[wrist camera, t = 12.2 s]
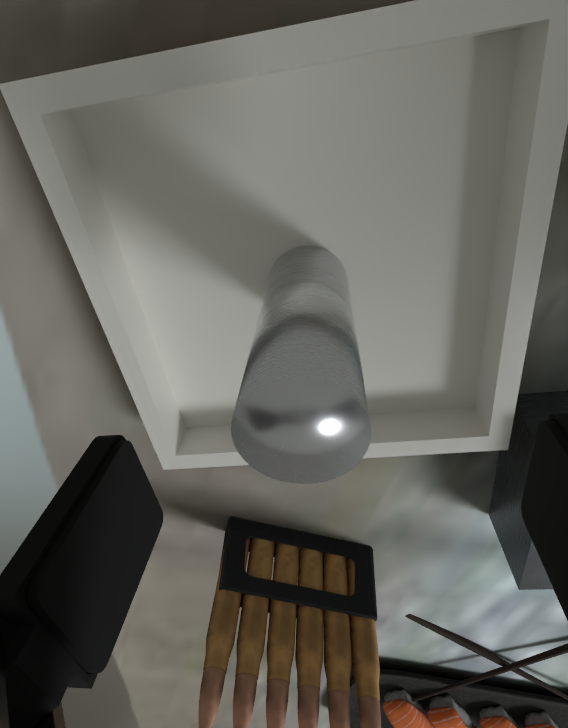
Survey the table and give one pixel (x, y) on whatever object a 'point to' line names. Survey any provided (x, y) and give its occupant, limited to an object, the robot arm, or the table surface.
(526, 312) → the tray
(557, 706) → the sushi plate
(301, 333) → the pin
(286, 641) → the ammunition clip
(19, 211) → the table surface
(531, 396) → the pin block
